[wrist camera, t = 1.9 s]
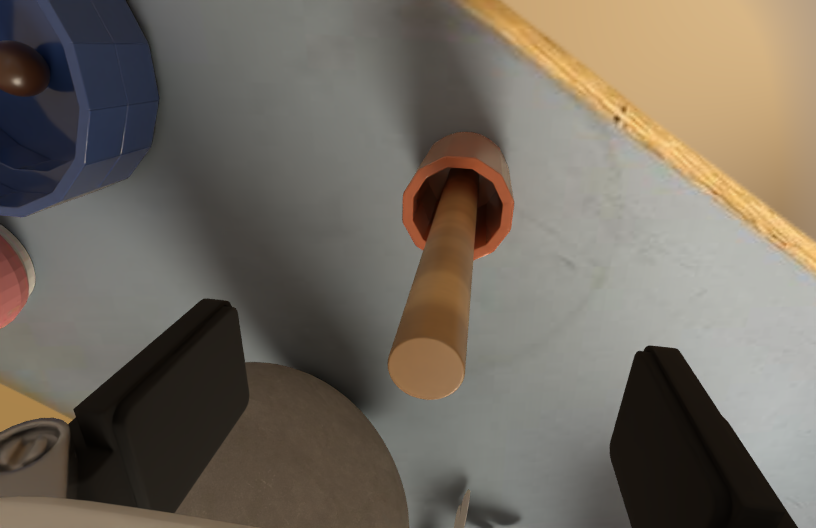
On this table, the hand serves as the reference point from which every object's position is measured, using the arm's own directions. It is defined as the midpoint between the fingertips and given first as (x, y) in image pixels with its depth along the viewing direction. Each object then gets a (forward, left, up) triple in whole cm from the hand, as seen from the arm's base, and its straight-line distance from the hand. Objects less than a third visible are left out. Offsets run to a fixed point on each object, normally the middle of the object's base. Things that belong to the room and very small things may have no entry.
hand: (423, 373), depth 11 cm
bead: (-5, -26, -16) cm, 31 cm away
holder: (0, 0, -18) cm, 18 cm away
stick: (0, 0, -18) cm, 18 cm away
